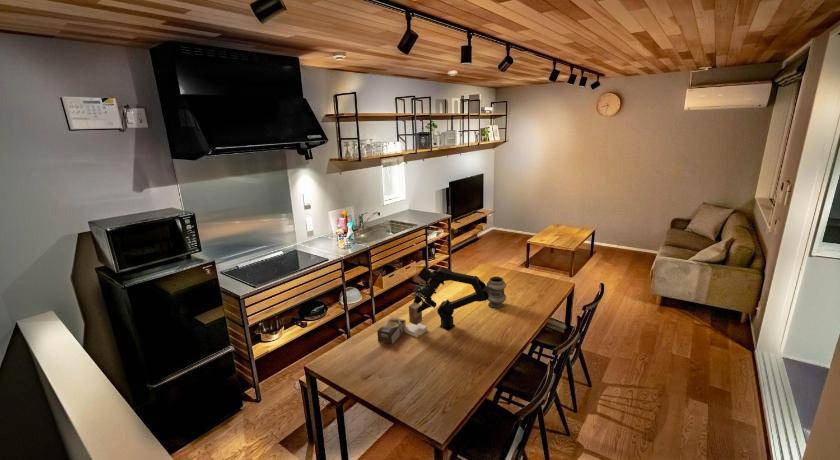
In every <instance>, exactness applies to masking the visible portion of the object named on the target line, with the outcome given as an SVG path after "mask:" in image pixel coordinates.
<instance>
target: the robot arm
mask: <svg viewBox="0 0 840 460" xmlns="http://www.w3.org/2000/svg"><path fill="white" fill-rule="evenodd" d="M417 277H418V278H419V279H420V280H422V281H423V282H425V283H427V282H428V283H427V284H424V285H418V284H415V285H414V288H413V289H412V291H413V295H414V300H413V302H412V304H413V303H417V304H420V303H421V304H420V305H421V306H420V308H419V309H418V311H417V312H418V313H420V312H421V311H422V312H423V311H425V310H427V309H429V308H434V309H435V308H436V307H437V302H436V301H435V300H433V299H432V296H433V295H434V294H435V295H436V294H437V292H436V291H437V289H438V288H439V287H440V285H442V286H445V282H449V281H452V282H456V283H462V284H467V285H471V287H473V289H474V292H473V293H470V294H468V295H466V296H463V297H460V298H458V299H455V300H453V301H450V300H449V299H446V300H443V301H442V302H441V303H440V304H439V307H437V311H436V312H437V314H438V316H439V317H440V325H439V328H442V329H444V330H446V331H450V330H451V329H453V328H454V327H455V326H456V324H454V317H453V314H454V313H455V311H454V310H457V309H459V308H462V307H464V306H467V305H469V304H472V303H474V302H478V303H479V302H480V303H481V302H486V301H488V300H487V299H488V298H489V295H490V293H491V290H490V288H489V287H487V284H486V283H485V282H484V281H482V280H481V279H480V277H478V276H477V275H470V274H466V273H462V272H461V273H459V272H454V271H452V270H451V269H449V268H446V267H443V266H442V267H439V268H438V269H435V270H433V271H431V270H430V269H428V267H426V266H424V267H423V268H422V269H421V270H420V271H419V272H418V274H417Z"/></svg>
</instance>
